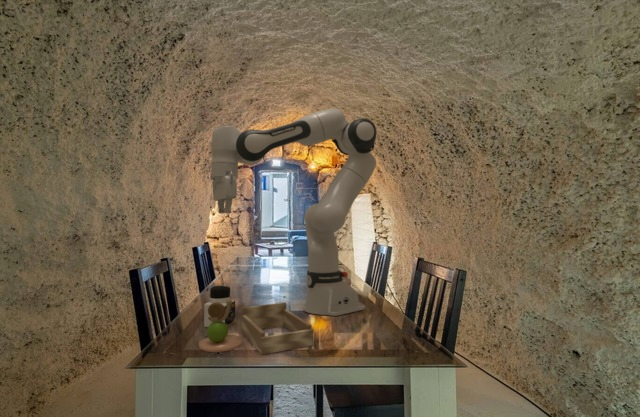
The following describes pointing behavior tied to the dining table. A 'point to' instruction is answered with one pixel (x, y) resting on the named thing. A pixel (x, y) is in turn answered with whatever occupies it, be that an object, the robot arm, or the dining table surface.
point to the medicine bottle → (221, 296)
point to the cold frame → (270, 318)
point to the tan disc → (221, 344)
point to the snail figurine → (218, 321)
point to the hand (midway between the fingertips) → (224, 213)
